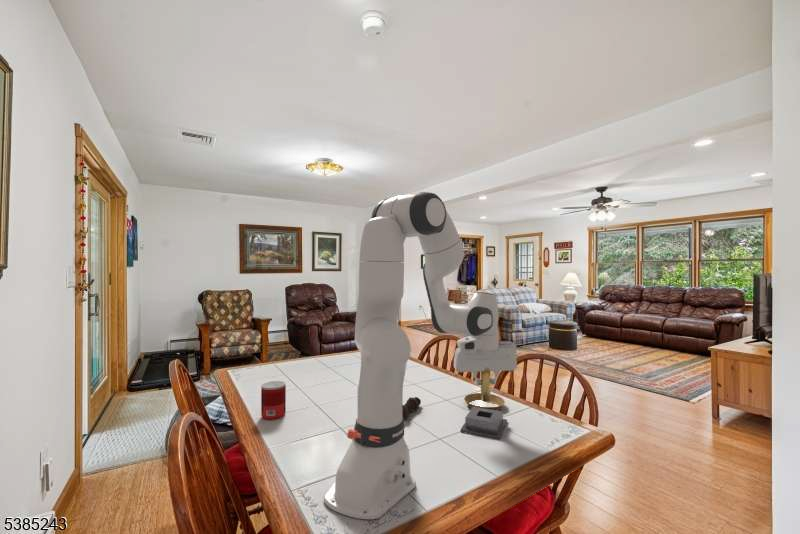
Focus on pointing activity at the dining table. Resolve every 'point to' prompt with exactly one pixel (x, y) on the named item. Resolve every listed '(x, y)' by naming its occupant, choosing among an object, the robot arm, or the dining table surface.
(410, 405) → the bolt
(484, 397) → the pin
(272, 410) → the canned food
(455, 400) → the dining table surface
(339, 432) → the dining table surface
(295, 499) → the dining table surface
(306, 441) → the dining table surface
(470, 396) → the plant saucer
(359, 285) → the robot arm
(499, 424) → the grey socket base
